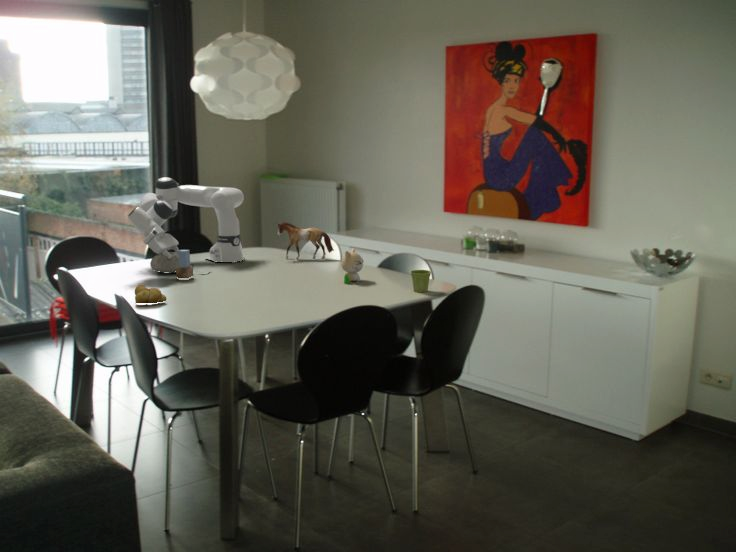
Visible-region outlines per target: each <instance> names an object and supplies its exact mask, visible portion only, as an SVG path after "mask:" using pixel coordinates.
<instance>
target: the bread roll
mask: <svg viewBox="0 0 736 552" xmlns="http://www.w3.org/2000/svg"><path fill="white" fill-rule="evenodd" d="M134 300H135V304H136V303H157V302H163V301H166V302H167V296H166V295H165V294H164V293H162V291H161V290H160V289H159V288H156V287H150V288H147V287H146V286H144V285H142V284H141V285H137V286H136V287H135V289H134Z"/></svg>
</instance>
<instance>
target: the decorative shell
mask: <svg viewBox="0 0 736 552" xmlns="http://www.w3.org/2000/svg"><path fill="white" fill-rule="evenodd" d="M168 252H169V253H171V254H172V255H173V256H172V258H170V259H169V258H168V257H167V256H165V255H164V254H162V253H160V254H155V256H153V257H152V258H151V261H150V263H149V265H150V268H151V270H153V271H154V270H155V271H154V272H156V271H160V272H175V271H176V268H177V267H179V257H178V255H177V254H176V252H175V251H168ZM175 273H176V272H175Z"/></svg>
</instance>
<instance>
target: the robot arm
mask: <svg viewBox="0 0 736 552" xmlns="http://www.w3.org/2000/svg"><path fill="white" fill-rule="evenodd" d="M154 187H155V193H153V192H147V193H145V194H143V196H142V197H141V199H140V201H139V206H136V207H134V209H133V210H131V211H130V212H129V214H128V215H127V216H128V217H127V218H128V220H129V221H130V223H131V224H132V226H133V227H134V228H135V229H136V230H137V231H138V232H140V233H141V234H142V237H144V240H143V244H145V245H147V246H148V248H150V250H152V252H153V253H155V254H156V255H158V254H160V253H162V254H164V255H165V256H167V257H168V258H169V259H170V258H172V256H173V255H172V254H171V253H169V252H170V251H171V250H173V252H176V254H177V255H178V251H180V249H179V247H178V246H179V244H180V243H179V241H178V240H177V239H176V238H175V237H174V236H173V235H171V234H170V233H166V232H165V231H166V230H164V229H163V228H162V226H163V225H164V224H165V223H166V221H168V220H169V219H171V218H174V217H176V216H177V215H178V211H179V208H178V205H179V204H178V203H181V204H184V205H186V206H187V205H188V206H193V207H194V206H195V207H203V208H213V209H214V212H215V215H216V219H217V223H218V224H217V226H218V235H215V236H216V237H215V238H216V243H215V244H213V245H212V246H211V247H210V249H209V256H207V257H205V258H206V259H210V260H213V261H217V262H221V261H222V262H232V263H237V262H236V261H240V262H243V261H244V260H245V259H244V258H245V256H244V251H243V246H242V243H241V241H242V236H241V234H240V233H241V231H240V220H239V218H238V217H237V214H236V210H235V209H237V208H238V207H239V206H241V205H242V204H243V202H244V201H245V196H244V193H243V192H242V190H241V189H239V188H236V187H228V186H226V187H225V186H207V185H206V186H205V185H194V184H185V185H184V184H183V185H182V184H181V185H180V184H179V183H178V182H177V181H176V180H175V179H174V178H171V177H167V176H164V177H159V178H158V179H156V180H155V184H154ZM208 257H209V258H208ZM242 260H243V261H242ZM234 261H235V262H234Z"/></svg>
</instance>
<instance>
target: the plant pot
mask: <svg viewBox="0 0 736 552" xmlns="http://www.w3.org/2000/svg"><path fill="white" fill-rule="evenodd" d="M409 273H410V275H411V280H412V287H413V288H412V289H413V291H414V292H415V293H426V292H428V289H429V285H430V277H431V274H432V271H431V270H427V269H415V270H410V271H409Z"/></svg>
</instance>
